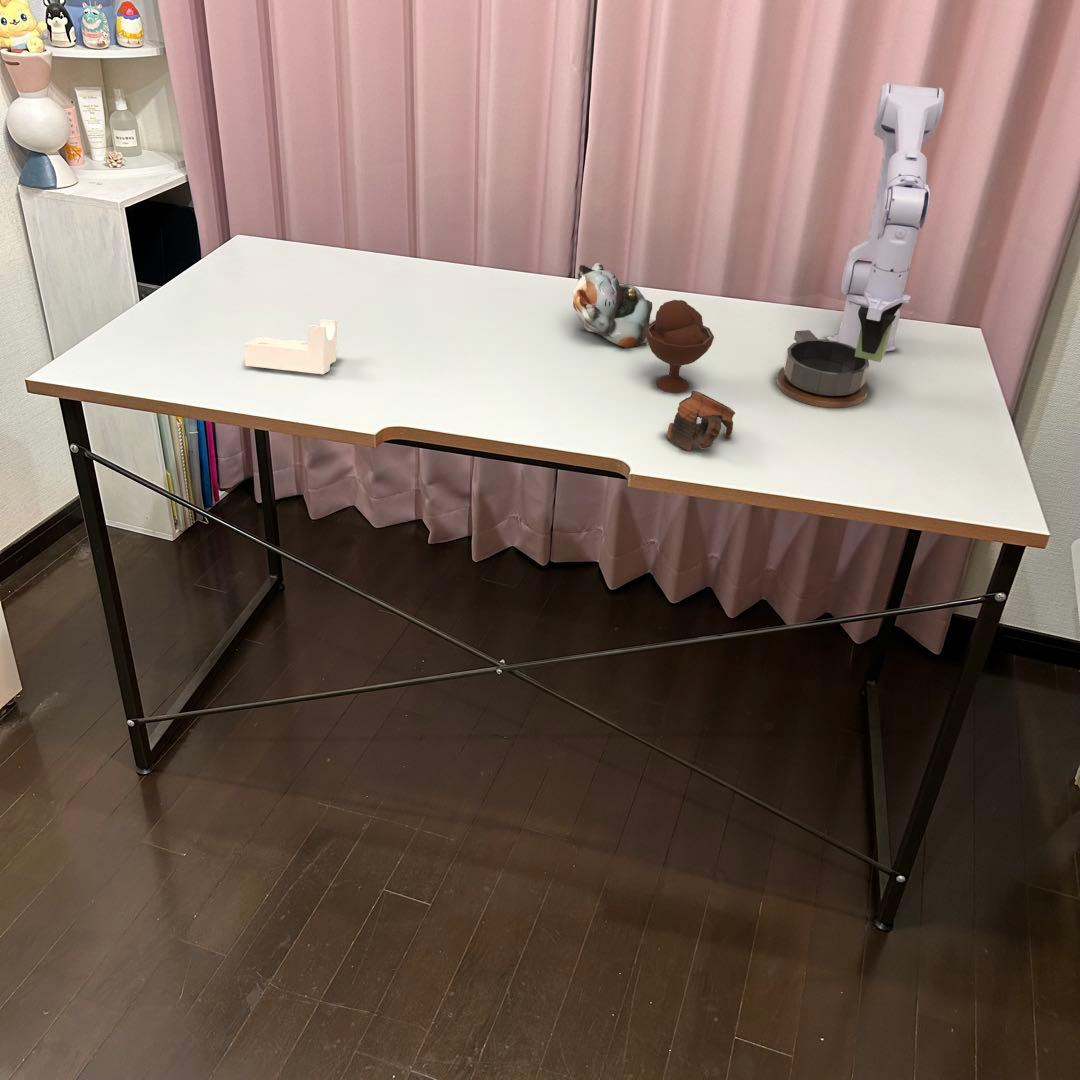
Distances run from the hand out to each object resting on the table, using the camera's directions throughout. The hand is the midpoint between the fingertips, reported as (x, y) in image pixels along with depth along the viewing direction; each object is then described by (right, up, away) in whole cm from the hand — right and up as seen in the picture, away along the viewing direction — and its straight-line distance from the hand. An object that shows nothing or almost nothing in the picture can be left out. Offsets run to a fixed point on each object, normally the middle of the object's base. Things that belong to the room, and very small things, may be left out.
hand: (871, 346), depth 183 cm
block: (0, -1, +1) cm, 1 cm away
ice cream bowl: (-32, -6, +5) cm, 32 cm away
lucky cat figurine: (-41, +5, +20) cm, 46 cm away
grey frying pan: (-7, -3, +8) cm, 11 cm away
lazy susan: (-6, -5, +7) cm, 11 cm away
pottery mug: (-29, -16, -10) cm, 35 cm away
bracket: (-94, -2, +4) cm, 94 cm away
